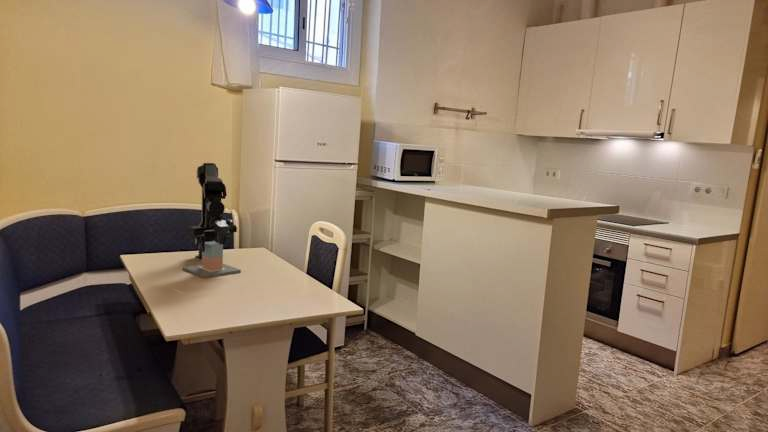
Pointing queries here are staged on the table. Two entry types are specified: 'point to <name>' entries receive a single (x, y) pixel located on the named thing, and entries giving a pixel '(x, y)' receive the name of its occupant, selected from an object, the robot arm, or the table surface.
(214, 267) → the brick
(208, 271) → the baseplate
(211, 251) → the brick
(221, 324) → the table surface
